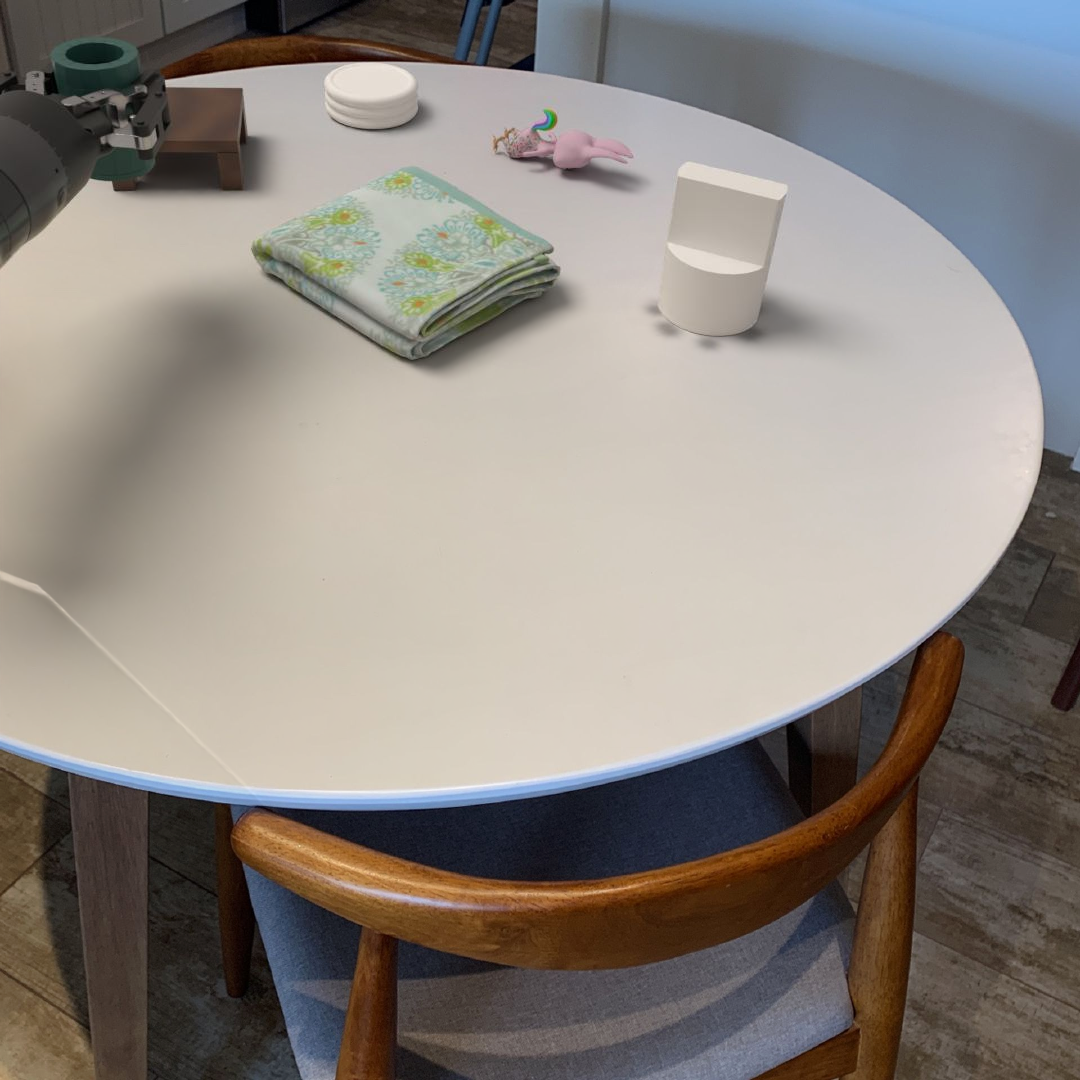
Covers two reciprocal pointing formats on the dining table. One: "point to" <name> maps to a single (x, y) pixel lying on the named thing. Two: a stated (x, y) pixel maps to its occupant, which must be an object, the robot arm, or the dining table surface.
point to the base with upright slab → (719, 249)
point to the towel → (408, 261)
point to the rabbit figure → (561, 145)
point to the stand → (206, 130)
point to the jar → (94, 69)
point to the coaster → (371, 95)
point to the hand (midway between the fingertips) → (113, 74)
